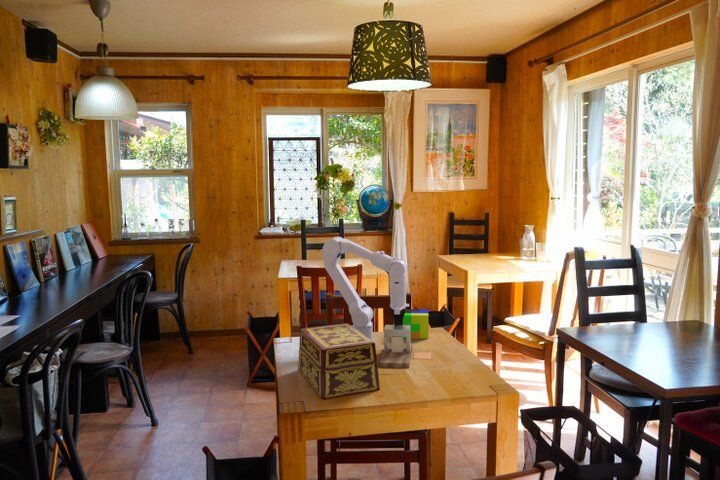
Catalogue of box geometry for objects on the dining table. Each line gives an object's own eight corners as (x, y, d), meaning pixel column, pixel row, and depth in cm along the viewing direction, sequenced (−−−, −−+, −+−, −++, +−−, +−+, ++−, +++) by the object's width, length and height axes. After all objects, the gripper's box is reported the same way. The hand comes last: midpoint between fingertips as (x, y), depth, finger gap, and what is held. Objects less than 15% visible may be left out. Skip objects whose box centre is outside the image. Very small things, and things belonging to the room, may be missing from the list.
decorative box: (297, 370, 188) (296, 327, 187) (349, 363, 195) (348, 321, 193) (322, 400, 163) (320, 351, 161) (380, 390, 169) (379, 343, 168)
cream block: (391, 355, 200) (391, 336, 199) (392, 352, 204) (392, 333, 203) (402, 356, 199) (402, 337, 198) (403, 352, 203) (403, 333, 202)
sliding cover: (384, 352, 199) (383, 329, 198) (385, 347, 205) (385, 324, 204) (409, 352, 198) (409, 329, 197) (410, 347, 204) (410, 325, 203)
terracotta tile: (413, 360, 196) (413, 358, 196) (414, 353, 203) (414, 352, 203) (430, 360, 195) (430, 358, 195) (431, 354, 202) (431, 352, 202)
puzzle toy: (427, 333, 230) (427, 309, 229) (428, 340, 220) (428, 315, 219) (403, 332, 231) (403, 309, 230) (403, 339, 221) (402, 315, 220)
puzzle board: (379, 368, 188) (379, 362, 188) (385, 349, 208) (385, 344, 208) (409, 369, 187) (409, 363, 187) (412, 350, 207) (412, 345, 206)
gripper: (408, 297, 197) (408, 334, 198) (409, 288, 211) (410, 323, 213) (388, 296, 198) (388, 334, 199) (391, 288, 212) (391, 323, 214)
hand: (398, 328), depth 206 cm, fingers closed
